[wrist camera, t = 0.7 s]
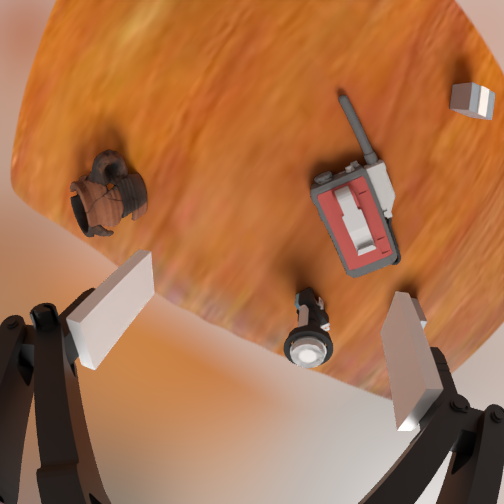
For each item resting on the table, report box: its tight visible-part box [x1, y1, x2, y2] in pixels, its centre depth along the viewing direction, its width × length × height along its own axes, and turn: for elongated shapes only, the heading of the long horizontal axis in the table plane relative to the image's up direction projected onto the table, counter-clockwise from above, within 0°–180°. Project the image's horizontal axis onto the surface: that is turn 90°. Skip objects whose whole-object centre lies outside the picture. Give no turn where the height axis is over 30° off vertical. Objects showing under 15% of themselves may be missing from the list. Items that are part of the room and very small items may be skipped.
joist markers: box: [411, 82, 495, 329], centre depth 30 cm, size 30×3×5 cm, turn 173°
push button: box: [284, 287, 333, 368], centre depth 36 cm, size 7×5×10 cm
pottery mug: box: [70, 150, 147, 237], centre depth 36 cm, size 12×10×8 cm
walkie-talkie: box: [310, 95, 401, 278], centre depth 32 cm, size 9×4×20 cm
